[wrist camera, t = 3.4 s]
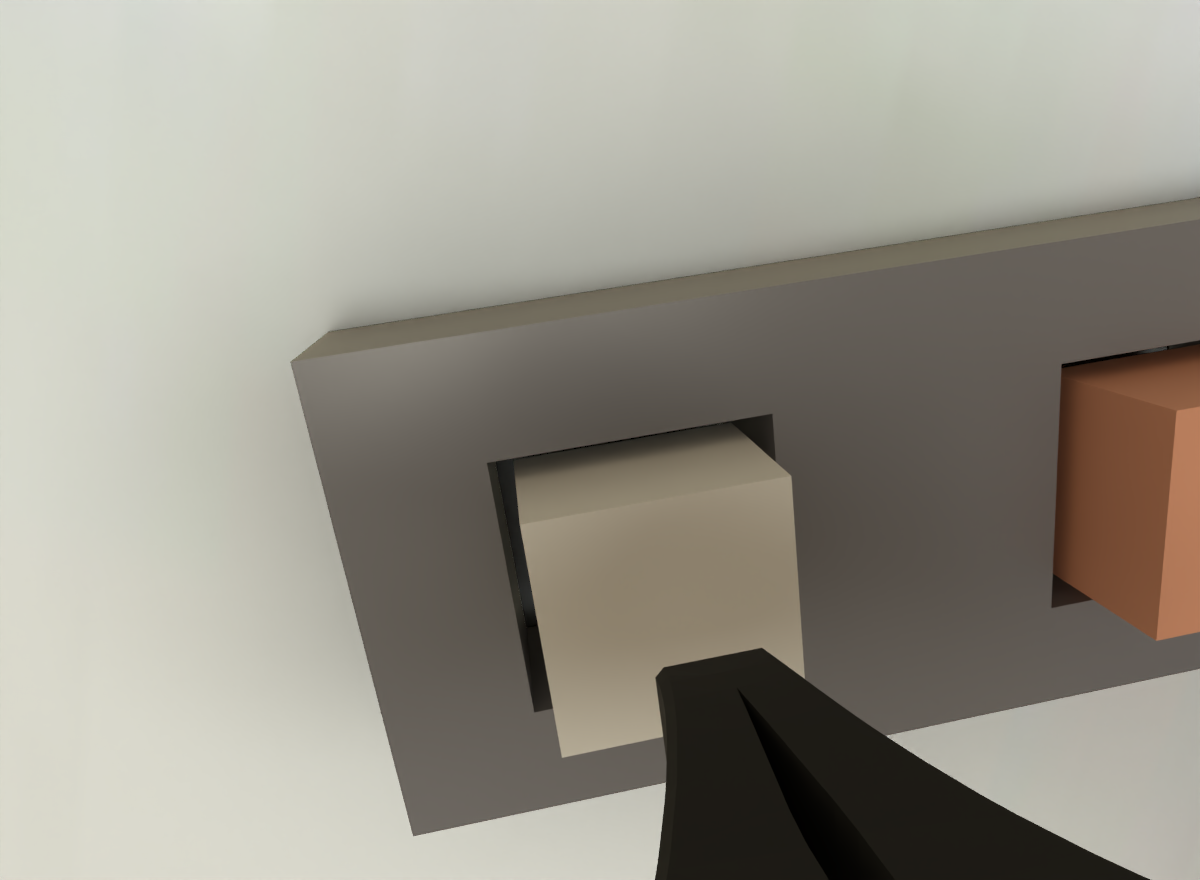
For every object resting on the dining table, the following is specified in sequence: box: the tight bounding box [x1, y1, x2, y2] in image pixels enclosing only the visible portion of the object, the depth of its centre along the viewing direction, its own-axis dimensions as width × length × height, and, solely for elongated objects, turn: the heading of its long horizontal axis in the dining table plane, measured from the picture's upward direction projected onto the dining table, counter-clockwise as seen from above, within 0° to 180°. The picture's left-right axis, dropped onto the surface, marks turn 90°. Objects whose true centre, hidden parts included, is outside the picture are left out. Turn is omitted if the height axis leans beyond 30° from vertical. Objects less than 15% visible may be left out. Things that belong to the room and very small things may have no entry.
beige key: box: [513, 422, 805, 758], centre depth 13 cm, size 4×4×3 cm
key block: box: [291, 198, 1200, 836], centre depth 16 cm, size 20×9×3 cm, turn 98°
